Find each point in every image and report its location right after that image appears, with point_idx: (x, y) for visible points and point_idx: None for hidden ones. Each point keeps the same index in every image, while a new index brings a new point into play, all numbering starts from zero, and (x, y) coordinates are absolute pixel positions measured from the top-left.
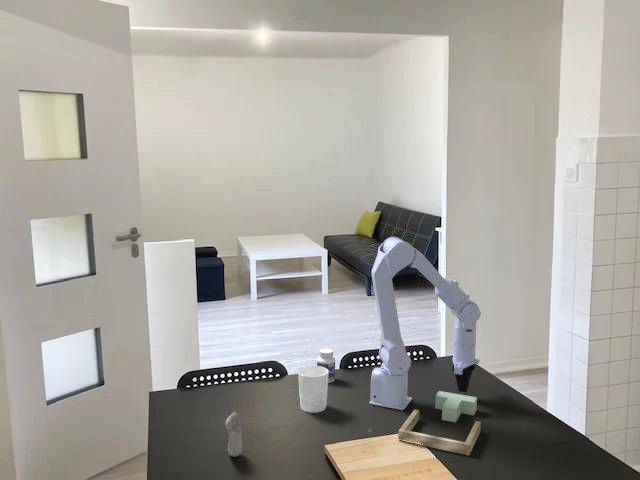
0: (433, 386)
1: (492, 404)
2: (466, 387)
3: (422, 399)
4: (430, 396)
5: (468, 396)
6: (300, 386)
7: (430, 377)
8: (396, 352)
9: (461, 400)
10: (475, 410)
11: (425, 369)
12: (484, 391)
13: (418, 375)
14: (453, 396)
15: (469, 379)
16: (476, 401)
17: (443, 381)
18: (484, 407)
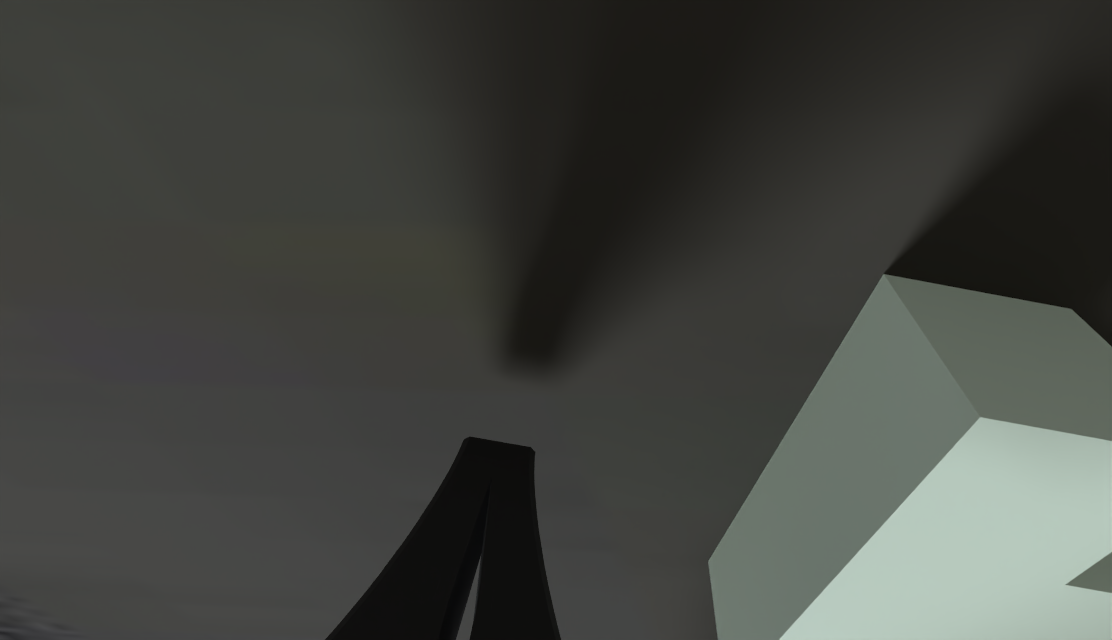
0: (345, 571)
1: (624, 27)
2: (533, 514)
3: (646, 628)
4: (568, 593)
5: (915, 513)
6: None
7: (172, 577)
8: None
9: (1071, 584)
10: (978, 306)
11: (44, 592)
12: (145, 158)
13: (195, 624)
14: (900, 632)
15: (478, 623)
16: (989, 379)
17: (183, 517)
18: (774, 165)
